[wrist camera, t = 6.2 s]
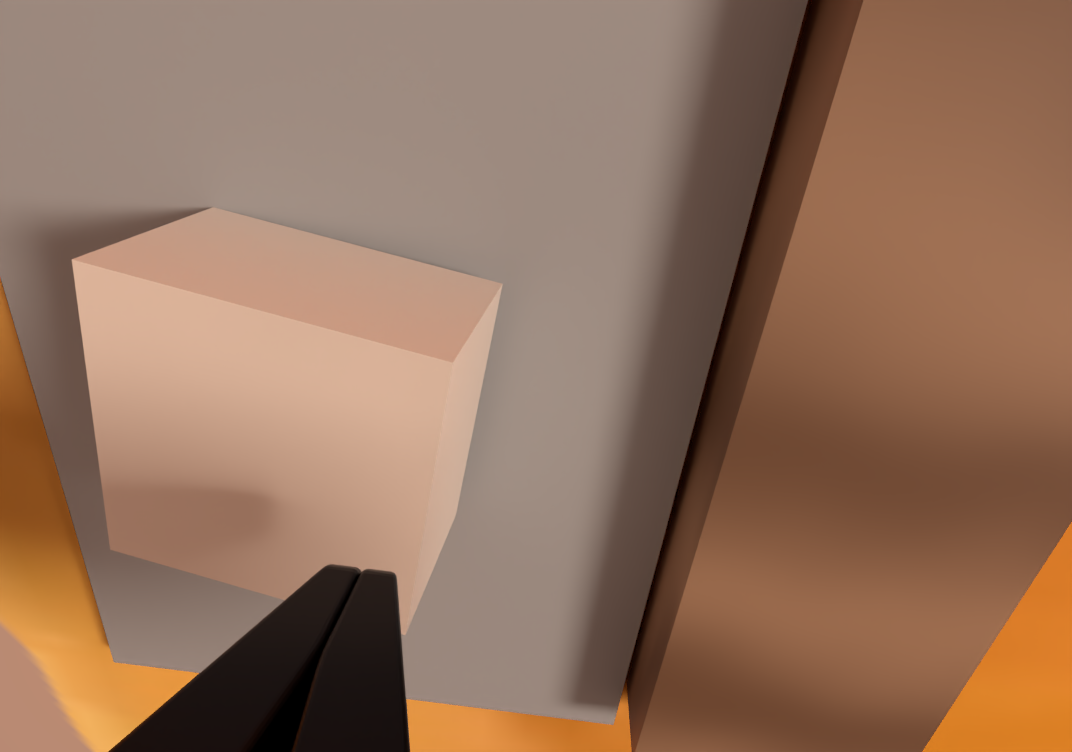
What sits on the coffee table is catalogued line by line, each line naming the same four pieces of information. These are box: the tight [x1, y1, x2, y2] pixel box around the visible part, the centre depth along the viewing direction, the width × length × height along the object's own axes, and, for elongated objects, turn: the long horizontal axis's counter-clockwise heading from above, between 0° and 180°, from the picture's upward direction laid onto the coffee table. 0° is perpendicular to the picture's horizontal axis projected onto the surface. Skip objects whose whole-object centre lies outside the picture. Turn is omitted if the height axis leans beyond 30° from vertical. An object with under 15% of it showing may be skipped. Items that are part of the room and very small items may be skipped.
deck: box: [627, 0, 1072, 752], centre depth 12 cm, size 16×6×2 cm, turn 174°
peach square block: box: [72, 207, 503, 635], centre depth 11 cm, size 5×5×3 cm
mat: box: [0, 0, 808, 725], centre depth 13 cm, size 18×13×1 cm
